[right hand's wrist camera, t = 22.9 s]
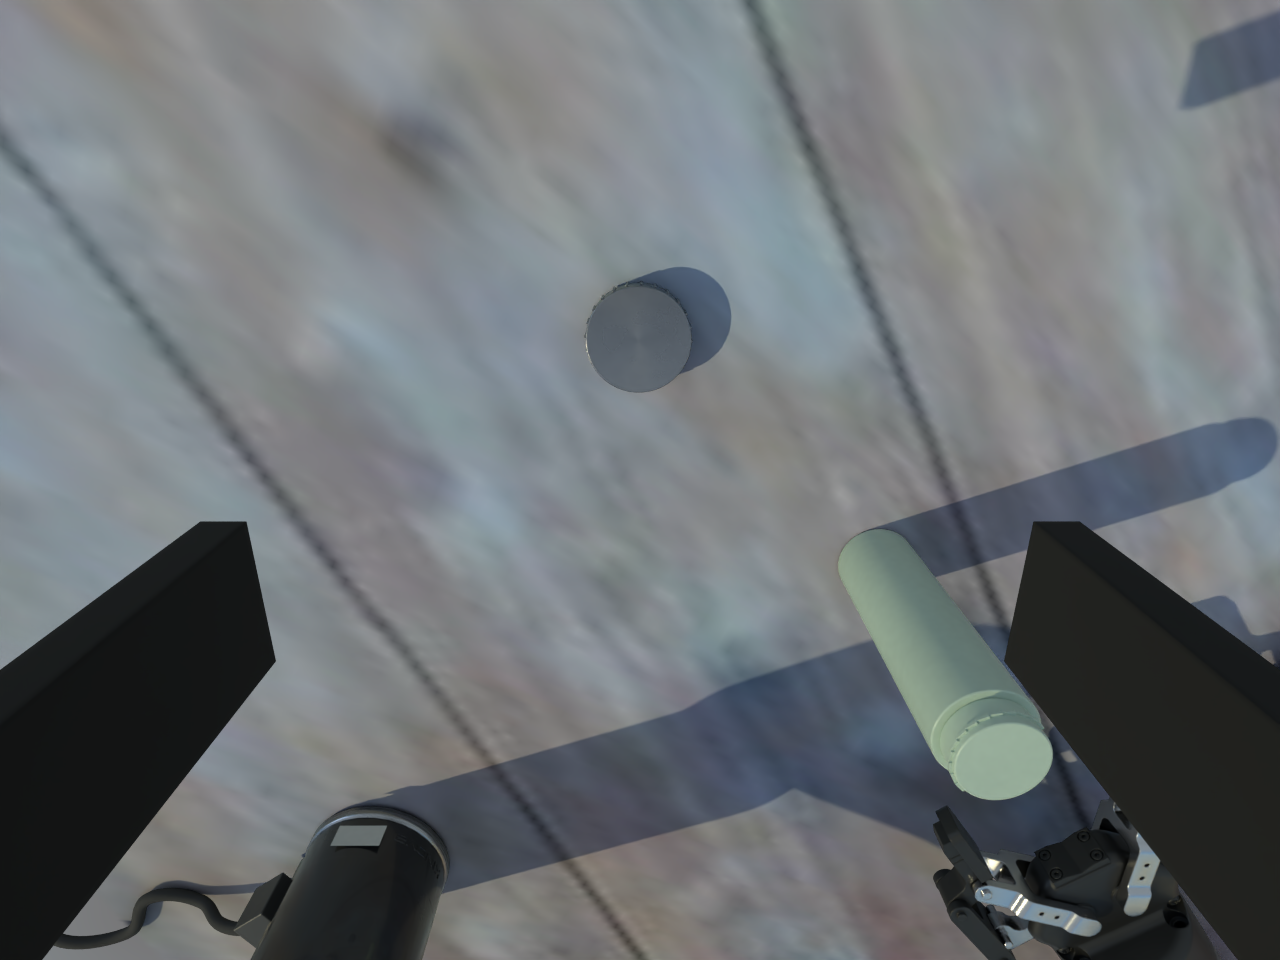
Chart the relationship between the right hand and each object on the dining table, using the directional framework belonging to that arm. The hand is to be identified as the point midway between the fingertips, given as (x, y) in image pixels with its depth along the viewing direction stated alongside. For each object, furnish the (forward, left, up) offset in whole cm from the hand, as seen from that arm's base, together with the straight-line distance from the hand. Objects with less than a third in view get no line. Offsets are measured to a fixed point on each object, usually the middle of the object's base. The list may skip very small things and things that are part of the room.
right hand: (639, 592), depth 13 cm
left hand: (+7, +28, -19) cm, 35 cm away
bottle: (+3, +19, -27) cm, 33 cm away
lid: (0, 0, -25) cm, 25 cm away
